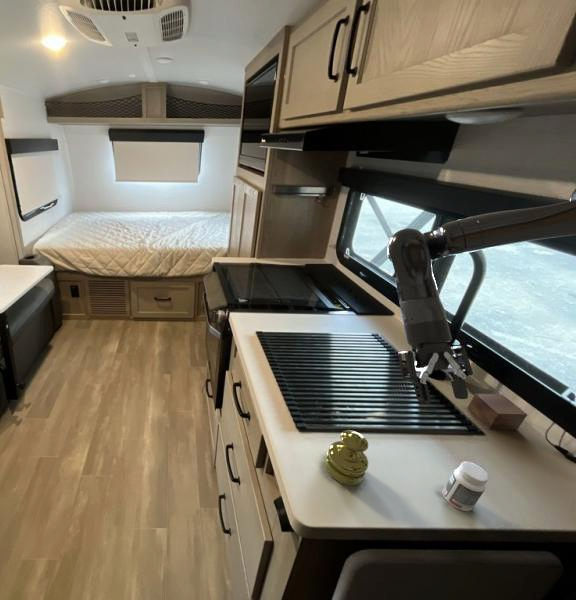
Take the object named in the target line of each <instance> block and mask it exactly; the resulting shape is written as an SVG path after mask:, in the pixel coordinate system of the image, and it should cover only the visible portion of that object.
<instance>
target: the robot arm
mask: <svg viewBox="0 0 576 600" xmlns="http://www.w3.org/2000/svg"><path fill="white" fill-rule="evenodd" d="M570 236H576V188H575V189H574V190H573V191H572V193H571V196H570V199H569V200H568V201H563V202H560V203H555V204H548V205H543V206H537V207H528V208H518V209H510V210H509V209H508V210H502V211H494V212H493V211H492V212H488V213H482V214H477V215H473V216H469V217H465V218H464V217H463V218H460V219H456V220H451V221H449V222H446V223H443V224H441V225H440V226H439V227H436V229H433V230H429V231H426V232H422V231H420V230H418V229H417V228H410V227H407V228H403V229H400V230H398V231H396V232H395V233H393V234H392V235H391V237H390V238H389V241H388V243H387V258H388V260H389V261H390V262H391V263H392V267H393V271H394V274H395V288H396V293H397V297H398V302H399V308H400V316H401V321H402V325H403V330H404V333H405V337H406V342H407V344H408V345H409V346H410V347H411V350H402V351H399V352H397V355H398V363H399V368H400V373H401V379H402V380H403V381H404V382H409V383H411V384H412V385H413V389H414V392H415V397H416V400H417V401H418V402H419V403H420V404H430V403H432V398H431V395H430V391H429V386H428V383H426V382H427V380H428V377H429V375H431V374H432V373H433V372H434V371H438V370H439V371H441V372H443V373H445V374H446V375H447V376H448V377H449V378H450V384H451V388H452V392H453V395H454V398H455V399H457V400H468V398H469V391H468V389H467V383H466V379H467V377H469V376H473V375H474V372H473V368H472V365H471V362H470V359H469V356H468V353H467V349H466V348H465V346H463V345H462V346H461V345H459V346H450V342H452V341H453V337H452V333H451V330H450V325H449V323H448V318H447V314H446V310H445V307H444V305H443V303H442V300H441V298H440V294H439V290H438V286H437V283H436V280H435V279H436V278H435V277H434V273H433V265H432V262H433V261H436V260H439V259H442V258H445V257H448V256H455V255H462V254H466V253H472V252H477V251H482V250H486V249H492V248H497V247H502V246H507V245H513V244H518V243H519V244H520V243H526V242H532V241H539V240H546V239H554V238H562V237H570ZM462 365H463V366H462Z"/></svg>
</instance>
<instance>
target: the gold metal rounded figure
mask: <svg viewBox="0 0 576 600" xmlns="http://www.w3.org/2000/svg"><path fill="white" fill-rule="evenodd" d="M368 449H369V441H368V440H367V438H366V437H365V436H364V435H362V434H361V433H360V432H358V431H355V430H350V429H346V430H343V431H342V432H341V434H340V441H334V442H333V443H331V444H330V445H329V447H328V451H327V453H326V457H325V459H324V466H325V469H326V471H327V472H328V474H329V475H330V476H331V478H332V479H334V480H335V481H337V482H339V483H341V484H344V485H346V486H356V485H359V484H361V482H362V481H363V478H364V477H365V475H366V471H367V470H368V468H369V460H368V457H367V455H366V454H365V453H364V452H366V451H367V450H368Z"/></svg>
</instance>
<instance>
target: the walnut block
mask: <svg viewBox="0 0 576 600" xmlns="http://www.w3.org/2000/svg"><path fill="white" fill-rule="evenodd" d="M467 409H468V410H469V411H470V412H471V413H472V414H473V415H474V416H475V417H476V418H477V419H479V421H481V423H482V424H483V425H484V426H486V427H487V428H488V429H489V430H516V431H517V430H518V429H519V428H520V426H522V423H523V422H524V421H525V420H526V418H527V417H528V413H526V412H525V411H524V410H522V409H521V408H520V407H519V406H518V405H517V404H515V403H514V402H513V401H512V400H511V399H509V398H508V397H506V396H505V395H504V394H502V393H475V394H474V395H473V396H472V399H471V400H470V402H469V404H468V405H467Z"/></svg>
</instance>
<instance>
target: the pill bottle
mask: <svg viewBox="0 0 576 600" xmlns="http://www.w3.org/2000/svg"><path fill="white" fill-rule="evenodd" d="M488 480H489V474H488V473H487V471H485V470H484V468H482V467H481V466H479V465H478V464H476V463H473V462H470V461H462V462H461V463H460V465H459V466H458V467H457V468H455V469H454V471H453V472H452V474H451V476H450V477H449V479H448V480H447V482H446V484H445V486H444V487H443V489H442V495H443V497H444V499H445V500H446V501H447V502H448V503H449V504H450V505H451V506H452V507H454V508H455V509H457V510H459V511H464V512H469V511H472V509H474V507H475V506H476V504H477V502H478V501H479V500H480V498H481V496H482V495H483V494H484V492H485V491H486V487H487V485H486V484H487V482H488Z"/></svg>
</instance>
